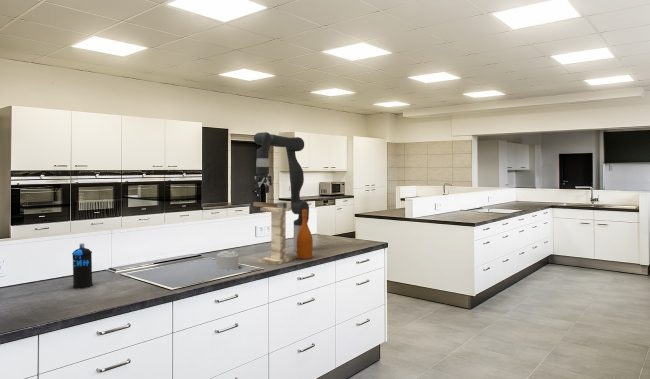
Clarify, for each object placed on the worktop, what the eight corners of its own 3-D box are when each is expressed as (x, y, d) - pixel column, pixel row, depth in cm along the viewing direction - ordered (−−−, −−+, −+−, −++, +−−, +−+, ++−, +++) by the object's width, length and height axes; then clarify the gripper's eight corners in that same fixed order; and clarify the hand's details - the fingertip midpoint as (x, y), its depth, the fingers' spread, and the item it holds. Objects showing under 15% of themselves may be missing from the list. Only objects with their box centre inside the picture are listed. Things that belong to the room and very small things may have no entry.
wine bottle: (315, 257, 277) (315, 209, 275) (308, 260, 268) (308, 210, 266) (301, 255, 281) (301, 208, 279) (293, 258, 272) (293, 209, 270)
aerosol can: (77, 284, 211) (76, 242, 210) (95, 283, 212) (94, 242, 211) (69, 288, 203) (68, 245, 202) (88, 288, 204) (87, 245, 203)
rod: (256, 205, 272) (256, 201, 271) (286, 207, 261) (286, 202, 261) (252, 206, 268) (252, 201, 268) (282, 208, 257) (282, 203, 257)
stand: (274, 257, 274) (274, 205, 272) (292, 260, 268) (292, 206, 266) (258, 262, 260) (258, 207, 259) (276, 265, 254) (276, 209, 252)
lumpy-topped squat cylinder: (229, 264, 256) (229, 249, 256) (243, 267, 247) (243, 252, 247) (214, 267, 249) (213, 251, 248) (227, 270, 240) (227, 254, 239)
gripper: (260, 166, 258) (260, 194, 258) (274, 166, 270) (275, 192, 271) (250, 166, 261) (250, 193, 262) (265, 166, 274) (265, 192, 275)
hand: (262, 193), depth 267 cm, fingers open, 8 cm apart
